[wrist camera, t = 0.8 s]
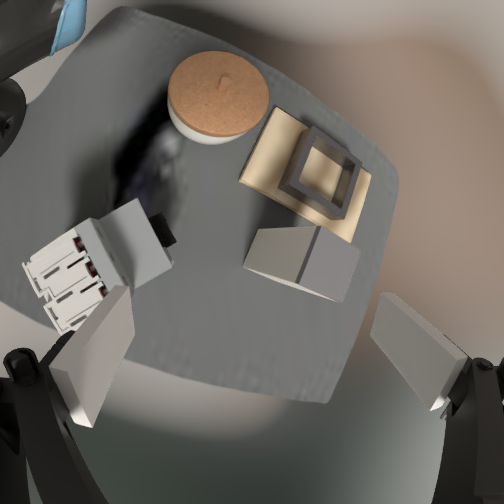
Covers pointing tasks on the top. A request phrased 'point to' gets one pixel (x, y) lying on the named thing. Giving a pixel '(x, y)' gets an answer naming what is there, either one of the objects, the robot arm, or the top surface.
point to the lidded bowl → (216, 97)
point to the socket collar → (335, 153)
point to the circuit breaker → (99, 262)
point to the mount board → (313, 175)
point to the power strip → (305, 259)
